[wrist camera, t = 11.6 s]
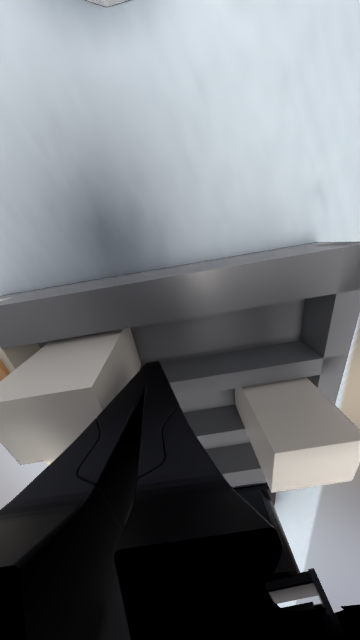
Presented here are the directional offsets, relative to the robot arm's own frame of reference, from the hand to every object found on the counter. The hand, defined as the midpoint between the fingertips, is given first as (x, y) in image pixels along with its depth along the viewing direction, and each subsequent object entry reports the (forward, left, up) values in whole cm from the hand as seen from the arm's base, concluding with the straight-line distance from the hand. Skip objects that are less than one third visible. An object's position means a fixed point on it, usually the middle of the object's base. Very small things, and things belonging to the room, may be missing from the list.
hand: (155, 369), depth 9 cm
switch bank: (-5, -1, -5) cm, 7 cm away
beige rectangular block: (-5, -7, -3) cm, 9 cm away
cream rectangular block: (0, +4, -3) cm, 5 cm away
